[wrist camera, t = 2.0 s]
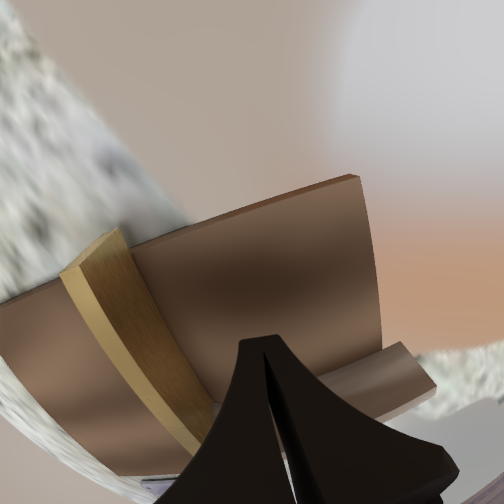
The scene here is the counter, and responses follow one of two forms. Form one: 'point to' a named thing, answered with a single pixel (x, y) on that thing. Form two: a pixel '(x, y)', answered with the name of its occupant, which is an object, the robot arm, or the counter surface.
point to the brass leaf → (138, 338)
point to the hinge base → (224, 322)
